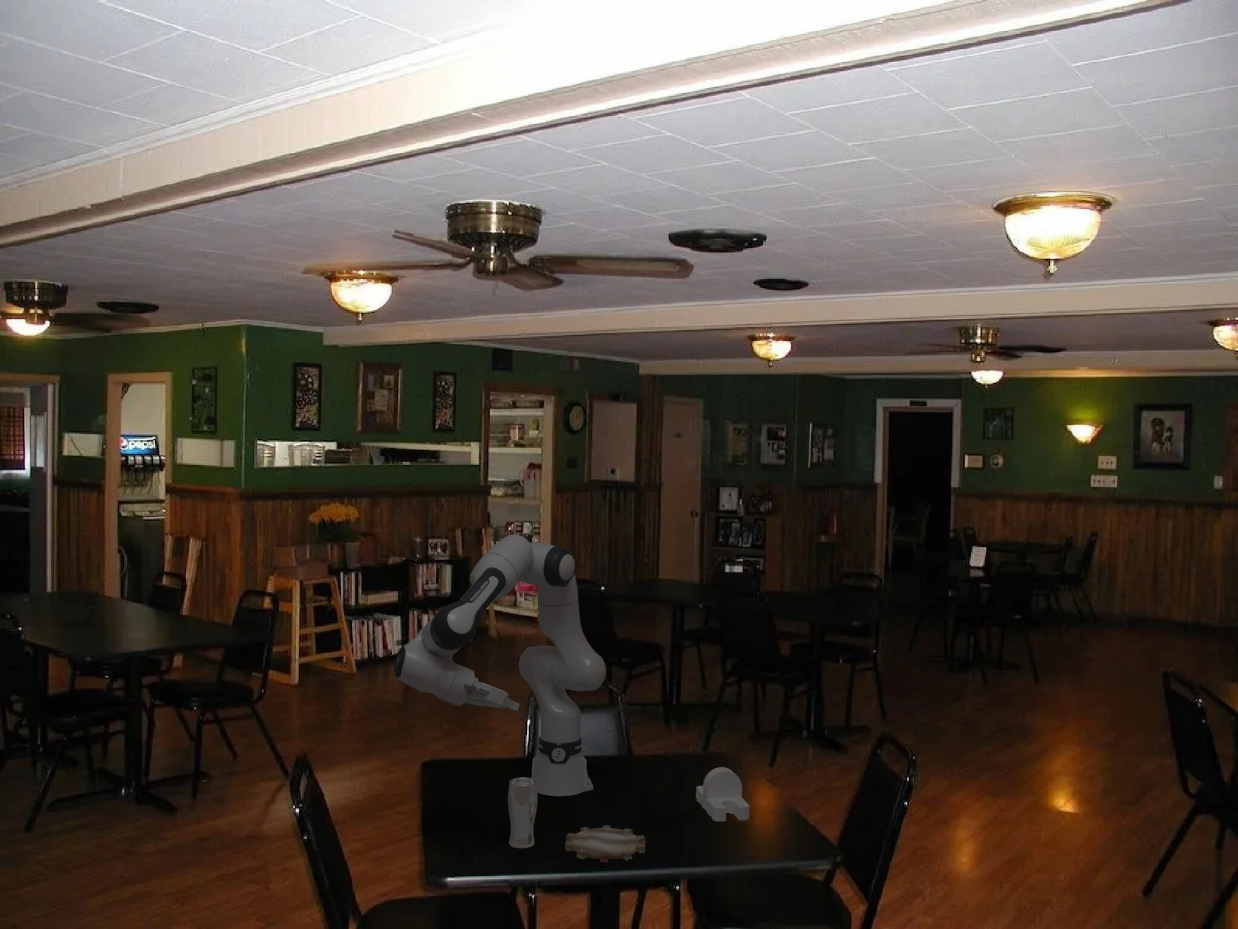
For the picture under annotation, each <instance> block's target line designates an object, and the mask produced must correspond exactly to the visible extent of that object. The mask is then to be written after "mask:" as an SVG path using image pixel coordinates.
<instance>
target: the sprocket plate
mask: <svg viewBox="0 0 1238 929" xmlns="http://www.w3.org/2000/svg"><path fill="white" fill-rule="evenodd" d="M579 830H580V831H578V832H577V833H573V832H572V833H570V832H568V833H567V834H566V835H565V837H566V840H565V843H564V849H565V850H566V852H573V851H574V852H575V853H576V858H578V859H581V860H585V859H586V858H590V859H596V860H599V862H600V863H609V860H618V859H619V860H620V859H623V860H624V859H625V860H624V861H626V860H627V861H630V860H629V859H631V860H633V855H635V854H636V853H635V852H639V853H638V854H641V853H643V854H644V853H645V852H646V837H645V836H644V835H643V834H642V835H636V834H634V833H633V831H634V830H633V829H630V828H627V827H626V828H624V829H619V828H612V827H611V825H606V824H605V825H602V827H597V828H589V827H588V826H584V827H580V828H579ZM634 853H635V854H634ZM632 854H633V855H632Z"/></svg>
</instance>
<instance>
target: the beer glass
mask: <svg viewBox="0 0 1238 929" xmlns="http://www.w3.org/2000/svg"><path fill="white" fill-rule="evenodd" d="M507 795H508V796H507V805H508V814H509V821H510V835H509V840H508V844H509V846H510V847H511V848H515V849H528V848H531V847H533V846H534V845H535V843H536V842H535V836H534V824H535V818H536V814H537V807H538V792H537V781H536V780H535V779H532V778H531V777H525V776H524V777H522V776H521V777H514V778H511V779H510V780H509V784H508V793H507Z"/></svg>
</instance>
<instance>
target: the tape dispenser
mask: <svg viewBox="0 0 1238 929" xmlns="http://www.w3.org/2000/svg"><path fill="white" fill-rule="evenodd" d="M695 788H696V789H695V791H696V792H695V794H696V795H695V800H696V799H697V800H696V801H697V803H698V802H699V803H700V804H701V805H702V806H701V805H700V804H699V803H698V804H699V805H700V806H701V807H702V809H705V810H706V811H707V812H706V811H705V810H704V811H705V812H706V813H707V815H708V816H709V817H710V816H711V817H712V818H711V817H710V818H711V819H712V820H713V821H715V822H726V821H727V814H726V813H730V815H733V814H734V815H733V816H734V817H736V818H737V819H738V821H748V820H747V819H749V820H750V809H751V808H750V806H751V805H749V803H747V801H746V800H745V799H744V798H743V786H742V781H741V779H740V777H739V776H738V775H737V774H736V773H735V772H734V771H733V770H732V769H730V768H728V767H723V766H720V767H719V766H718V767H716V768H713V769H712V770H710V771H709V772H708V773H707V774H706V776H705V777H704V779H703V784H702V785H698V786H696V787H695Z"/></svg>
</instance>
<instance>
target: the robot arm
mask: <svg viewBox="0 0 1238 929" xmlns="http://www.w3.org/2000/svg"><path fill="white" fill-rule="evenodd" d="M576 563H577V562H576V558H575V557H574V554H573V553H572V551H571V550H570V549H568V548H566V547H564V546H561V545H553V544H550V543H545V542H530V541H529V540H528V539H527V538H526V537H524V536H522V535H520V534H516V533H515V534H514V533H513V534H508V535H506V536H504V537H503V538H501V539H500V540H499V541H497V542H496V543H495V544H494V545H493V546H492V547H490V548H489V549H488V550H487V552H485V553H484V555H483V556H482V557H481V558H480V559H479V560H478V561H477V563H476V564H475V565H474V568H473V570H472V572H471V573H470V576H469V581H470V584H471V586H470V587H469V588H468V590H467V591H465V593H464V594H463V595H462V596H461V597H460V598H459V600H457V601H455V602H452V603H449V604H447V605H445V606H443V607H442V608H440V609H439V611H438V612H437V613H436V614H435V615H434V616H433V617H432V618H431V619H430V620H429V621H428V622H427V623H426V624H425V625H424V626H422V628H421V629H420V630H419V631H418V633H417V634H416V635H415V636H414V637H413V638H412V639H411V640H410V641H409V642H408V643H406V644H404V645H402V646H401V647H400V648H399V650H398V651H397V653H396V657H395V659H394V662H393V663H394V664H393V671H394V675H395V677H396V678H397V679H398V680H399V681H401V682H402V683H404V684H406V685H407V686H410V687H411V688H412V689H413V688H414V690H415V689H416V690H418V691H419V692H423V693H429V694H432V695H434V696H436V697H437V698H438V699H440V700H442V701H444V702H447V703H449V704H452V705H455V706H457V707H460V706H462V705H463V704H464V703H465V704H469V705H471V706H472V705H473V706H477V707H490V708H496V709H498V710H503V711H504V710H506V709H507V708H508V709H509V710H512V711H515V712H516V711H517V712H518V710H519V708H520V703H518V702H517V701H514V700H513V699H511V698H509V693H508V692H507V691H505V690H502V689H500V688H498V687H495V686H492V685H490V684H488V683H484V682H482V681H479V678H478V677H475V674H476V673H475V671H474V670H473V669H470V668H468V667H466V666H464V665H460V664H458V663H456V662H454V661H453V657H454V654H455V653H457V652H458V651H460V649H461V648H463V647H465V646H467V645H468V644H469V643H470V642H472V640H473V639H474V636H475V635H476V632H477V628H478V625H479V624H478V623H479V620H480V618H481V617H482V615H483V614H484V613H485V611H487V609H488V607H489V606H490V605H492V603H493V602H496V601H499V600H501V599H502V598H504V597H505V596H507V594H509V593H510V592H511V590H513V589H514V588H515V586H516V585H517V584H518V583H519V582H520V583H522V584H523V583H524V584H528V585H533V586H534V585H535V586H536V585H537V607H538V610H537V611H538V612H537V613H538V623H539V624H538V625H539V630H540V631H541V633H542V634H543V635H544V636H545V637H547V638H548V639H549V640H550V641H551V642H552V643H553V645H554V646H552V645H546V644H545V645H543V644H541V645H534V646H529V647H526V648H525V650H524V651H523V652H522V654H521V655H520V658H519V661H518V669H519V670H518V671H519V674H520V675H521V677H522V679H523V680H524V681H525V682H526V683H527V684H528V685H529V687H530V688H531V689H532V691H533V693H534V695H535V698H536V700H537V704H538V708H539V716H540V720H539V721H540V726H539V727H540V731H539V732H540V734H539V737H538V741H537V746H538V749H537V750H538V753H537V754H536V755H535V756H534V757H533V759H532V765H531V766H532V767H531V777H530V778H532V779H535V780H536V781H537V794H541V795H544V796H551V797H567V796H568V797H569V796H574V795H575V796H576V795H578V794H581V793H583V792H589V791H593V790H594V785H593V783H592V781H591V779H590V777H589V774H588V770H587V758H585V756H584V755H583V754H582V750H583V749H582V748H583V739H582V737H581V728H582V727H581V721H582V713H581V709H580V707H579V706H578V704H576V703H575V702H574V701H573V700H572V699H571V698H570V696H569V695H568V693H567V690H570V691H577V692H587V691H588V692H589V691H590V692H591V691H596V690H598V689H599V688H600V687H601V686H602V684H603V683H604V681H605V679H606V675H607V667H606V663H605V661H604V659H603V658H602V656H601V655H599V653H598V652H596V651H595V650H594V649H593V648H592V646H591V644H590V643H589V642H588V640H587V638H586V636H585V634H584V631H583V628H582V624H581V623H582V622H581V618H580V617H581V616H580V606H579V604H580V603H579V593H578V592H579V591H578V584H577V580H576V574H575V572H576V569H577V568H576V567H577V565H576Z"/></svg>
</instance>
